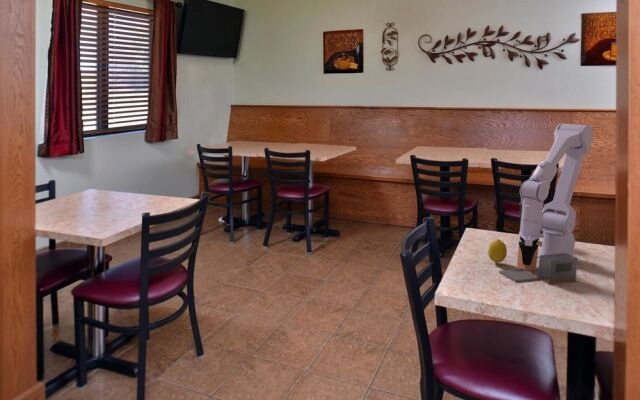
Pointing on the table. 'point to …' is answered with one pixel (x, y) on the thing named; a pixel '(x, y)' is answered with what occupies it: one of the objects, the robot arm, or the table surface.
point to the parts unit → (557, 268)
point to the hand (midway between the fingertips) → (527, 261)
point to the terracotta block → (533, 263)
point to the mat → (519, 275)
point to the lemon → (497, 251)
